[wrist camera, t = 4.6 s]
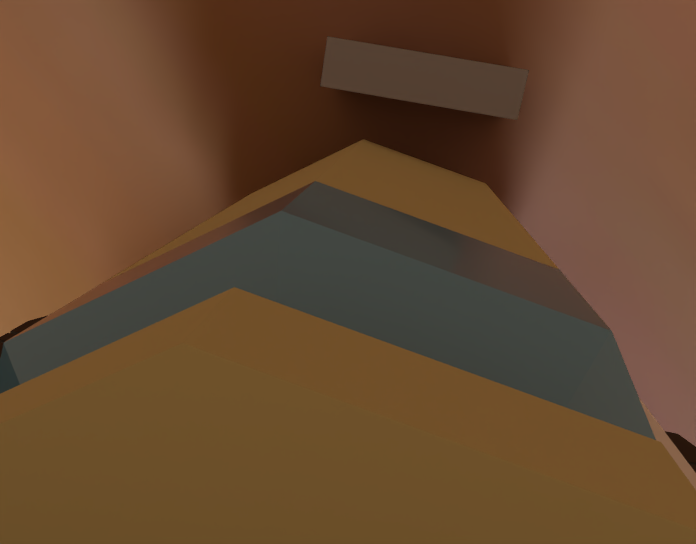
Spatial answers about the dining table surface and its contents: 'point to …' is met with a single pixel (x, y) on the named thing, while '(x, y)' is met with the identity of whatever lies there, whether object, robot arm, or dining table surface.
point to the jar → (335, 384)
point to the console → (423, 78)
